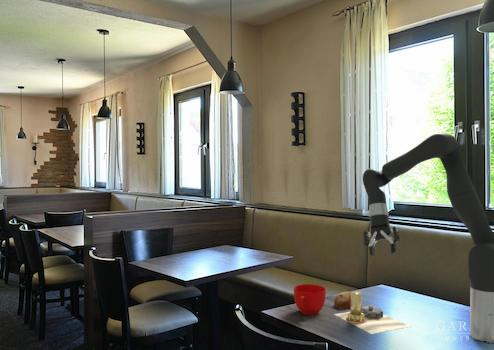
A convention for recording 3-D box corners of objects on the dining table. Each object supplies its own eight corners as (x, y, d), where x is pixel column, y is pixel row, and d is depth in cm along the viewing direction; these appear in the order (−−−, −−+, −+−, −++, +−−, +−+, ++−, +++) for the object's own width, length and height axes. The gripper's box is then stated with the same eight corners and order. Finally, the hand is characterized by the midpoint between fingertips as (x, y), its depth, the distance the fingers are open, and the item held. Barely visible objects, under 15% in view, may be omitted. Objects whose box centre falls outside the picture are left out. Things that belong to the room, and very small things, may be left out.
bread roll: (345, 310, 192) (338, 292, 194) (365, 304, 186) (358, 286, 188) (334, 316, 184) (327, 297, 186) (355, 310, 178) (347, 291, 180)
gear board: (410, 330, 158) (411, 317, 158) (371, 338, 151) (371, 324, 151) (370, 312, 179) (370, 300, 178) (334, 318, 171) (334, 305, 171)
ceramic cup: (284, 317, 171) (285, 292, 171) (300, 305, 186) (300, 282, 186) (316, 323, 165) (316, 297, 165) (329, 310, 180) (330, 286, 180)
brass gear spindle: (367, 320, 164) (368, 294, 163) (354, 323, 161) (354, 296, 161) (357, 315, 169) (357, 290, 169) (344, 317, 167) (344, 291, 167)
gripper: (358, 217, 182) (362, 256, 177) (391, 211, 173) (396, 251, 168) (367, 220, 187) (371, 258, 182) (399, 214, 179) (404, 254, 173)
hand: (383, 255), depth 175 cm, fingers open, 8 cm apart
